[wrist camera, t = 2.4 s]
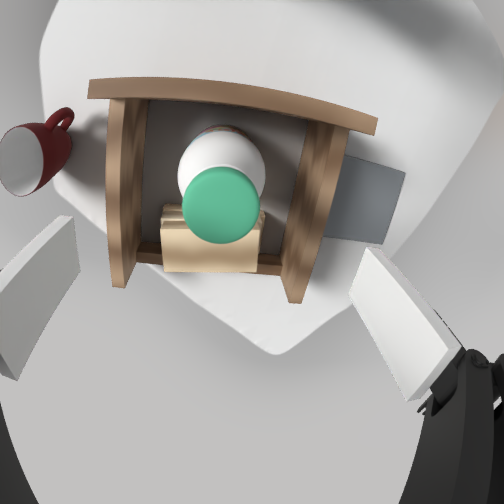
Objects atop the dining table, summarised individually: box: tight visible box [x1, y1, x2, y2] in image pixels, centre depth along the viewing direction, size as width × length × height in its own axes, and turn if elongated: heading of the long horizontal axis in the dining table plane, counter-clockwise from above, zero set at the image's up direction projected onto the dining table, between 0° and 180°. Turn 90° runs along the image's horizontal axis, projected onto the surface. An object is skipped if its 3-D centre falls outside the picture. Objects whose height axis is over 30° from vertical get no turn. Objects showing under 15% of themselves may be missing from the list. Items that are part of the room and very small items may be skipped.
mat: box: [323, 155, 405, 244], centre depth 38 cm, size 12×12×1 cm
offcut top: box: [160, 221, 260, 272], centre depth 33 cm, size 6×11×2 cm, turn 87°
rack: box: [87, 77, 378, 304], centre depth 29 cm, size 23×23×14 cm
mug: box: [0, 107, 74, 196], centre depth 25 cm, size 10×8×10 cm
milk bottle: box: [178, 124, 266, 244], centre depth 25 cm, size 8×8×20 cm
